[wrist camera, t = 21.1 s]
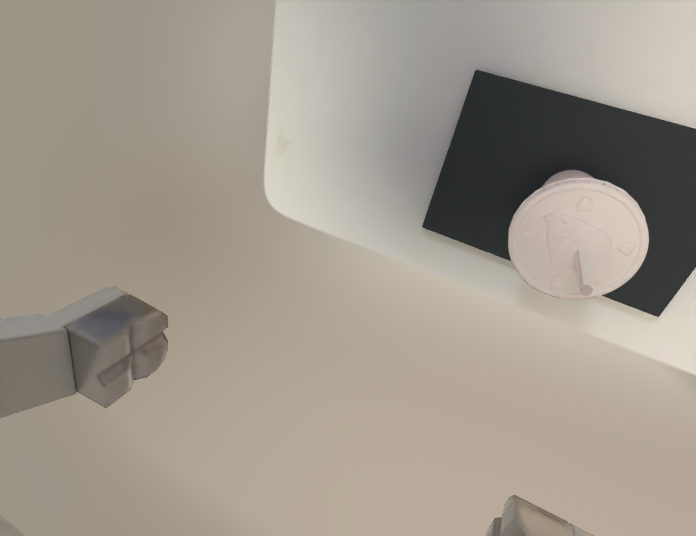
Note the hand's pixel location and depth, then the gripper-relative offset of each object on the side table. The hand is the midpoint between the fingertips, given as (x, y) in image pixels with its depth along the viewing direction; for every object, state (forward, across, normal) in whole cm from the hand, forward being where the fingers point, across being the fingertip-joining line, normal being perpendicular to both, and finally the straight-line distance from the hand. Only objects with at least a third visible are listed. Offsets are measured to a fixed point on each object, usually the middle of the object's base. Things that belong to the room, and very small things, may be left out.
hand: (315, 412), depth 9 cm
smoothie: (+27, -6, 0) cm, 27 cm away
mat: (+27, -6, 0) cm, 28 cm away
